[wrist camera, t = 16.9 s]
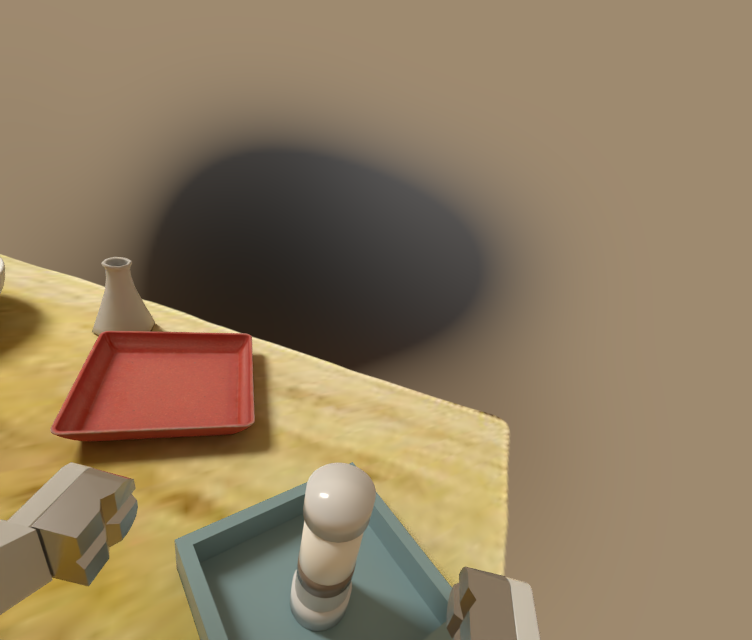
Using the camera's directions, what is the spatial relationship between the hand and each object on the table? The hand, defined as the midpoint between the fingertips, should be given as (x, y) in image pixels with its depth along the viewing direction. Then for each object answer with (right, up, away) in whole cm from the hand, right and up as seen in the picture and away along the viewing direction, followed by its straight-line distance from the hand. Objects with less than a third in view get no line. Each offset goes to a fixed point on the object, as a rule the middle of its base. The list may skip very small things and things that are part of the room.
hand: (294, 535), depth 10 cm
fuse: (-2, -16, +22) cm, 27 cm away
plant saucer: (-22, -4, +40) cm, 46 cm away
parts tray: (-3, -17, +23) cm, 28 cm away
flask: (-33, +4, +49) cm, 59 cm away
